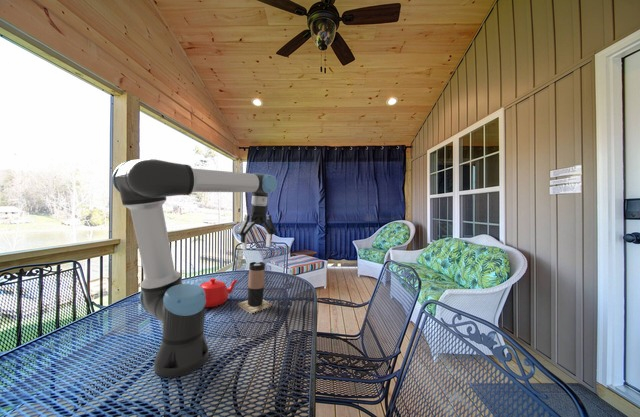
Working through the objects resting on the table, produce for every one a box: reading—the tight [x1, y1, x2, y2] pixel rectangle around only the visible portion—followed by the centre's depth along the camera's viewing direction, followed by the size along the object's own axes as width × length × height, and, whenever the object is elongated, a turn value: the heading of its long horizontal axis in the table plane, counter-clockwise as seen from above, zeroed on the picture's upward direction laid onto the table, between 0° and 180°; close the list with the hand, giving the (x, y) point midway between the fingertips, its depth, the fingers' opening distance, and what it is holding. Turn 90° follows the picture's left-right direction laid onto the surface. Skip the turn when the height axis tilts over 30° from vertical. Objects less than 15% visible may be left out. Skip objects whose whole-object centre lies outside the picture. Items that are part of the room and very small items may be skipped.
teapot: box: [199, 277, 239, 309], centre depth 119 cm, size 25×16×12 cm, turn 133°
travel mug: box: [247, 261, 266, 306], centre depth 117 cm, size 8×8×20 cm
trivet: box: [237, 299, 273, 315], centre depth 118 cm, size 12×12×2 cm
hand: (256, 248), depth 116 cm, fingers open, 13 cm apart
